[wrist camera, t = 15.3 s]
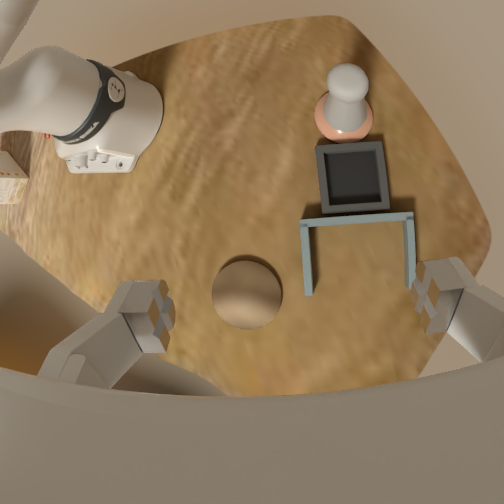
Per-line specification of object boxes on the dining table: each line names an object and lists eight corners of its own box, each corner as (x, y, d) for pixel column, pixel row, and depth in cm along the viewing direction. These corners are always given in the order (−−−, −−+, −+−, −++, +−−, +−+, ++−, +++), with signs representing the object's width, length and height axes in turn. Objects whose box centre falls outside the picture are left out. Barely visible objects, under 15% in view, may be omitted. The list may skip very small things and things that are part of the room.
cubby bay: (411, 285, 39) (415, 288, 37) (306, 292, 43) (305, 296, 41) (409, 211, 38) (413, 211, 36) (300, 219, 42) (299, 219, 40)
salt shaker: (324, 94, 39) (320, 50, 26) (366, 100, 37) (377, 57, 25) (321, 133, 40) (316, 100, 27) (363, 139, 38) (376, 108, 26)
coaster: (318, 146, 40) (318, 145, 40) (311, 93, 40) (310, 92, 39) (376, 142, 38) (377, 141, 38) (366, 89, 38) (367, 87, 37)
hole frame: (388, 209, 39) (390, 209, 38) (322, 214, 41) (322, 214, 40) (380, 143, 38) (381, 141, 37) (315, 148, 41) (314, 145, 39)
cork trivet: (283, 326, 45) (283, 329, 44) (217, 327, 47) (215, 329, 46) (279, 258, 44) (278, 259, 43) (210, 262, 46) (208, 263, 45)
